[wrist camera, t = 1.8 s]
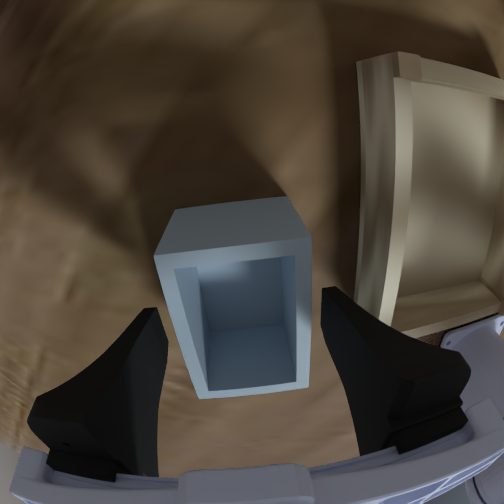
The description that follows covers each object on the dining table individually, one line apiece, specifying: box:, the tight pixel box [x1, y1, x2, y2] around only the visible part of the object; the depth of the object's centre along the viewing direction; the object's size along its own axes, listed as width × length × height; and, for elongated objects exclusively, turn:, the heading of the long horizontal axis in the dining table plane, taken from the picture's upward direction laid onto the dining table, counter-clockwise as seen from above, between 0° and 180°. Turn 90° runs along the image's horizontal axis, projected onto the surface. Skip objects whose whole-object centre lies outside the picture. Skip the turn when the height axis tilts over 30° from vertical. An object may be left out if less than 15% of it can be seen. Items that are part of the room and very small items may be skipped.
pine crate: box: [354, 51, 504, 338], centre depth 13 cm, size 14×11×4 cm
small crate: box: [153, 196, 312, 399], centre depth 14 cm, size 8×5×5 cm
